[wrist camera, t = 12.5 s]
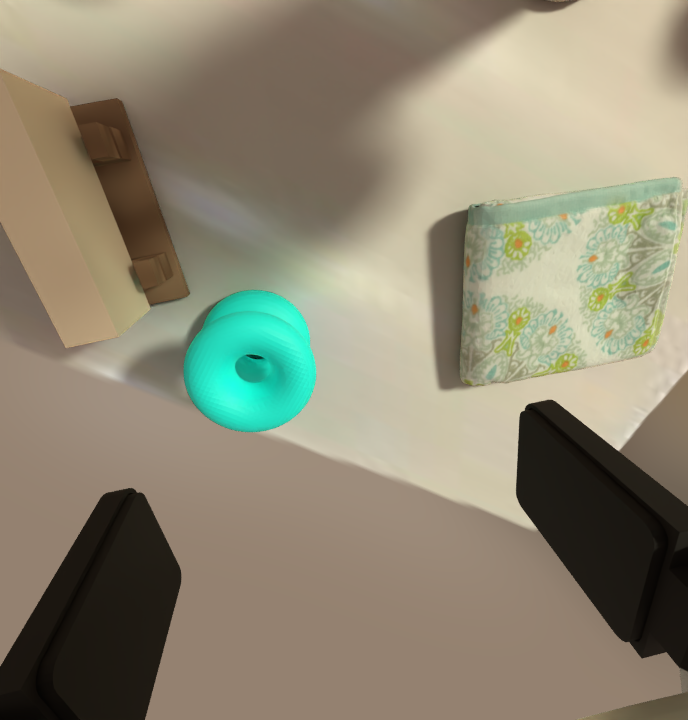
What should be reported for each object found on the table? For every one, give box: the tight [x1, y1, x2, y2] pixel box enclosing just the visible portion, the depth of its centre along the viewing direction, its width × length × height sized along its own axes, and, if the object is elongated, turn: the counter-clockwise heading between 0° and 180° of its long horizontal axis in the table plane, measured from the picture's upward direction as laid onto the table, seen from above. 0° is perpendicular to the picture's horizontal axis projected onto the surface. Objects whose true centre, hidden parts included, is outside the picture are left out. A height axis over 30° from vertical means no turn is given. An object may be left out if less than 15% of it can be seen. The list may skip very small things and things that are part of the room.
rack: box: [70, 98, 190, 305], centre depth 30 cm, size 15×9×5 cm, turn 10°
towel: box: [460, 177, 688, 386], centre depth 38 cm, size 18×21×5 cm
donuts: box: [184, 290, 316, 432], centre depth 33 cm, size 10×10×10 cm
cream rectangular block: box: [0, 69, 151, 348], centre depth 26 cm, size 15×4×7 cm, turn 10°
